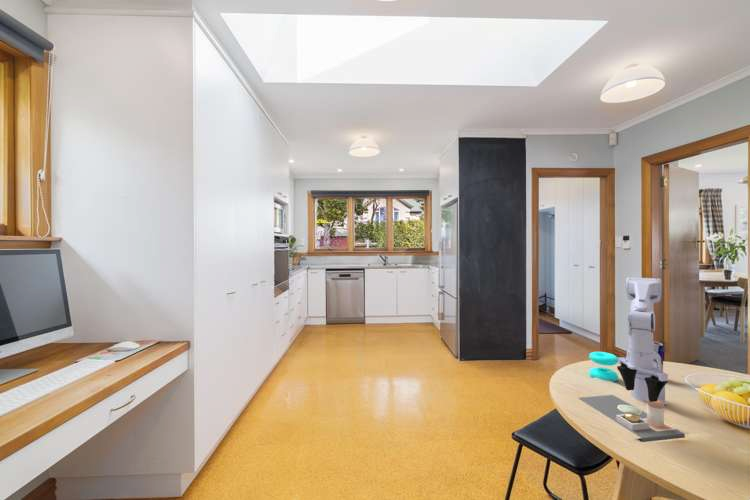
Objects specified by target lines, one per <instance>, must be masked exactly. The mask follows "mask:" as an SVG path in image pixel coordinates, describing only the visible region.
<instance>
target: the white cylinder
mask: <svg viewBox="0 0 750 500" xmlns="http://www.w3.org/2000/svg"><path fill="white" fill-rule="evenodd" d="M646 413H647V422H648V423H649V425H651V426H654V427H658V428H663V427H664V423H665V405H664V402H662V401H660V400H657V401H656V402H651V401H649V399H647V402H646Z"/></svg>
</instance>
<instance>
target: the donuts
mask: <svg viewBox="0 0 750 500" xmlns="http://www.w3.org/2000/svg"><path fill="white" fill-rule="evenodd" d="M588 357H589V360H591V361H592V363H595V364H597V365H601V366H614V365H617V364H618V358H619V357H617V356H616V355H615V354H613V353H609V352H605V351H593V352H590V353H589V355H588ZM601 366H600V367H599V366H597V367H591V368H590V369H589V371H588V374H589V375H590V377H592V378H593V379H600V380H604V381H605V380H606V381H611V382H613V383H614V382H616V381H617V380H618V379H619V375H618V373H617V372H616V371H614V370H612V369H610V368H607V367H601Z"/></svg>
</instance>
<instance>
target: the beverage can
mask: <svg viewBox="0 0 750 500" xmlns="http://www.w3.org/2000/svg"><path fill="white" fill-rule="evenodd" d="M653 351H655V352H656V353H657V354H659V355H660V357H661V371H662V372H664V344H663V343H661V342H658V341H653ZM653 359H654V358H653Z"/></svg>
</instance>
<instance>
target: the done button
mask: <svg viewBox="0 0 750 500" xmlns="http://www.w3.org/2000/svg"><path fill="white" fill-rule="evenodd" d="M625 419H626V420H628V421H629V422H631V423H640V416H639V415H638V414H635V413H632V412H625Z"/></svg>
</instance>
